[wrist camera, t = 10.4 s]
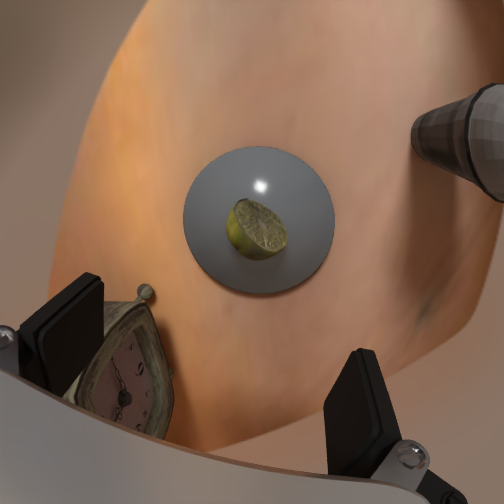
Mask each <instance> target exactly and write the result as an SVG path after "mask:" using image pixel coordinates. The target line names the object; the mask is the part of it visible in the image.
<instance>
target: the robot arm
mask: <svg viewBox="0 0 504 504" xmlns="http://www.w3.org/2000/svg"><path fill="white" fill-rule="evenodd" d="M103 342H104V283H103V282H102V281H101V278H100V277H99V276H96V275H94V274H91V273H88V272H85V273H84V274H82V275H81V276H80V277H79V278H77V279H76V280H75V281H73V282H72V283H71V284H70V285H68V286H67V287H66V288H65V289H63V290H62V291H61V292H60V293H58V294H57V295H56V296H55V297H53V298H52V299H51V300H50V301H48V302H47V303H46V304H45V305H44V306H42V307H41V308H40V309H39V310H38V311H36V312H35V313H34V314H33V315H32V316H30V317H29V318H28V319H27V320H26V321H25V322H23V323H22V324H21V325H20V329H19V330H17V331H15V330H14V329H13V328H11V327H9V326H6V325H0V504H468V503H467V500H466V498H465V496H464V495H463V494H462V493H461V492H460V491H458V490H457V489H455V488H454V487H452V486H451V485H450V484H448V483H447V482H445V481H444V480H442V479H441V478H440V477H438V476H437V475H436V474H434V473H433V472H431V471H430V470H428V467H429V463H430V457H429V455H428V452H427V451H426V449H425V448H424V447H423V446H422V445H421V444H419V443H417V442H415V441H413V440H402V437H401V434H400V430H399V426H398V423H397V420H396V416H395V413H394V410H393V406H392V404H391V400H390V397H389V394H388V391H387V388H386V385H385V382H384V379H383V376H382V373H381V370H380V367H379V364H378V361H377V358H376V355H375V352H374V351H373V350H368V349H363V348H358V349H357V350H356V351H352V352H351V354H350V356H349V358H348V360H347V362H346V363H345V365H344V367H343V369H342V371H341V373H340V375H339V377H338V378H337V380H336V382H335V384H334V386H333V387H332V389H331V391H330V393H329V394H328V396H327V398H326V400H325V402H324V407H323V410H324V421H325V435H326V448H327V462H328V463H327V464H328V475H325V474H316V473H309V472H301V471H294V470H286V469H280V468H274V467H268V466H262V465H257V464H252V463H246V462H242V461H238V460H233V459H228V458H225V457H220V456H216V455H212V454H208V453H205V452H201V451H197V450H194V449H190V448H187V447H183V446H180V445H177V444H174V443H170V442H167V441H164V440H161V439H158V438H155V437H152V436H150V435H147V434H144V433H141V432H138V431H136V430H133V429H130V428H128V427H125V426H123V425H120V424H118V423H115V422H113V421H110V420H108V419H106V418H103V417H101V416H99V415H96V414H94V413H92V412H90V411H87V410H85V409H83V408H81V407H79V406H77V405H75V404H73V403H71V402H69V401H67V400H64V399H62V397H63V396H64V395H65V393H66V392H67V391H68V389H69V388H70V387H71V385H72V384H73V383H74V381H75V380H76V379H77V377H78V376H79V375H80V374H81V372H82V371H83V370H84V368H85V367H86V366H87V364H88V363H89V362H90V361H91V359H92V358H93V357H94V356H95V354H96V353H97V352H98V350H99V349H100V348H101V347H102V345H103Z"/></svg>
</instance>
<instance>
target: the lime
mask: <svg viewBox="0 0 504 504" xmlns="http://www.w3.org/2000/svg"><path fill="white" fill-rule="evenodd" d="M226 234H227V237H228V240H229V241H230V243H231V245H232V246H233V247H234V248H236V250H237V251H238V252H239V253H240V254H241V255H242V256H244V257H245V258H247V259H250V260H253V261H261V260H266V259H269V258H271V257H273V256H275V255H277V254H278V253H280V252H281V251H282V250H283V249H284V248H285V247H286V245H287V231H286V229H285V226H284V224H283V223H282V221H281V219H280V218H279V217H278V216H277V214H275V213H274V212H273V211H271V210H270V209H269V208H268V207H266V206H264V205H262V204H261V203H259V202H256V201H253V200H249V199H247V198H245V199H241V200H239V201H237V202H236V203H235V204H234V206H233V207H232V208H231V210H230V212H229V215H228V217H227V221H226Z"/></svg>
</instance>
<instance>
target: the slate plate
mask: <svg viewBox="0 0 504 504" xmlns="http://www.w3.org/2000/svg"><path fill="white" fill-rule="evenodd" d="M245 198H247V199H249V200H253V201H256V202H259V203H261V204H262V205H264V206H266V207H268V208H269V209H270V210H271V211H273V212H274V213H275V214H277V216H278V217H279V218H280V219H281V221H282V223H283V224H284V226H285V229H286V231H287V245H286V247H285V248H284V249H283V250H282V251H281V252H280V253H278V254H277V255H275V256H273V257H271V258H269V259H266V260H261V261H253V260H250V259H247V258H245V257H244V256H242V255H241V254H240V253H239V252H238V251H237V250H236V248H234V247H233V246H232V245H231V243H230V241H229V240H228V237H227V234H226V221H227V217H228V215H229V212H230V210H231V208H232V207H233V206H234V204H235V203H236V202H237V201H239V200H241V199H245ZM183 226H184V232H185V237H186V240H187V243H188V246H189V248H190V250H191V252H192V254H193V256H194V258H195V259H196V261H197V262H198V263H199V265H200V266H201V267H202V268H203V269H204V270H205V271H206V272H207V273H208V274H209V275H210V276H212V277H213V278H214V279H215V280H217V281H219V282H220V283H222V284H223V285H226V286H228V287H230V288H232V289H235V290H238V291H242V292H247V293H255V294H268V293H274V292H279V291H283V290H286V289H289V288H291V287H293V286H295V285H297V284H299V283H301V282H302V281H304V280H305V279H306V278H308V277H309V276H310V275H311V274H312V273H313V272H314V271H315V270H316V269H317V268H318V267H319V266H320V264H321V263H322V262H323V260H324V258H325V257H326V255H327V253H328V251H329V248H330V246H331V243H332V239H333V235H334V227H335V215H334V209H333V204H332V201H331V197H330V195H329V193H328V190H327V188H326V186H325V185H324V183H323V182H322V180H321V178H320V177H319V176H318V175H317V174H316V172H315V171H314V170H313V169H312V168H311V167H310V166H308V165H307V164H306V163H305V162H304V161H302V160H301V159H299V158H298V157H296V156H294V155H292V154H290V153H288V152H285V151H282V150H279V149H276V148H270V147H259V146H256V147H246V148H241V149H237V150H233V151H231V152H228V153H226V154H224V155H222V156H220V157H218V158H216V159H215V160H214V161H212V162H211V163H209V164H208V165H207V166H206V167H205V168H204V169H203V170H202V171H201V172H200V174H199V175H198V176H197V177H196V179H195V180H194V182H193V184H192V185H191V187H190V190H189V192H188V194H187V197H186V201H185V205H184V212H183Z"/></svg>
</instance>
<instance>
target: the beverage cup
mask: <svg viewBox="0 0 504 504" xmlns="http://www.w3.org/2000/svg"><path fill="white" fill-rule="evenodd" d="M411 140H412V145H413V147H414V149H415V151H416V152H417V154H418V155H419V156H420V157H421V158H423V159H424V160H426V161H429V162H430V163H432V164H433V165H435V166H438V167H440V168H442V169H445V170H447V171H449V172H451V173H454V174H456V175H458V176H460V177H462V178H464V179H466V180H468V181H471V182H473V183H474V184H475V185H477V186H478V187H479V188H481V189H482V190H483V192H485V193H486V194H487V195H488V196H490V197H491V198H492V199H494V200H495V201H497V202H501V203H504V84H503V83H491V84H489V85H487V86H485V87H483V88H481V89H480V90H479V91H478V92H476V93H474V94H472V95H471V96H469V97H467V98H465V99H462V100H459V101H457V102H454V103H451V104H448V105H445V106H442V107H440V108H437V109H434V110H431V111H429V112H427V113H425V114H423V115H421V116H419V117H418V118H417V119H416V121H415V122H414V124H413V126H412V129H411Z"/></svg>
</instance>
